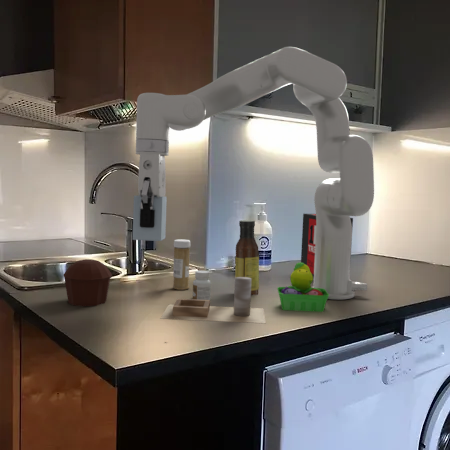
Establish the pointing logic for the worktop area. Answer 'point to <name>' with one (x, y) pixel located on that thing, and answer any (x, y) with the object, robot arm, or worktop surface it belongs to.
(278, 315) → the worktop surface
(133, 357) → the worktop surface
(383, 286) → the worktop surface
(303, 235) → the cleaning product box
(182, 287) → the sprinkles bottle
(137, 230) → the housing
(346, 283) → the robot arm
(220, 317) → the board
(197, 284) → the pill bottle
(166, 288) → the worktop surface
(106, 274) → the muffin
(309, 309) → the fruit basket
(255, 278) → the sauce bottle
